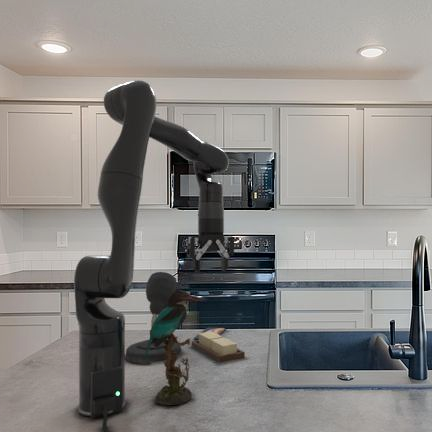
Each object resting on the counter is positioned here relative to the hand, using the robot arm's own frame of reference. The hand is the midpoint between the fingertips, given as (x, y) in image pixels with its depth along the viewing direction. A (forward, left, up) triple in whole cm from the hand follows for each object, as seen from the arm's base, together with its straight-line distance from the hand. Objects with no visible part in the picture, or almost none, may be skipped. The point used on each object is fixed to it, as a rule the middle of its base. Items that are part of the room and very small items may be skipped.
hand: (211, 271), depth 134 cm
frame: (+2, -3, -25) cm, 25 cm away
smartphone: (+21, -10, -25) cm, 34 cm away
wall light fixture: (+13, +12, -25) cm, 31 cm away
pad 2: (-2, -3, -25) cm, 25 cm away
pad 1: (+7, -3, -25) cm, 26 cm away
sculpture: (-24, +20, -25) cm, 40 cm away
